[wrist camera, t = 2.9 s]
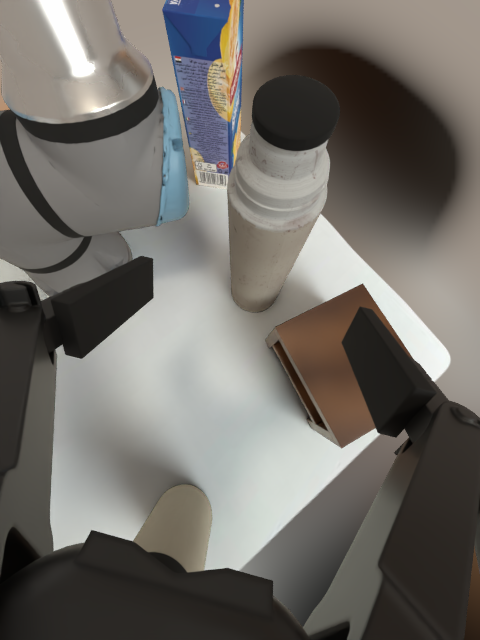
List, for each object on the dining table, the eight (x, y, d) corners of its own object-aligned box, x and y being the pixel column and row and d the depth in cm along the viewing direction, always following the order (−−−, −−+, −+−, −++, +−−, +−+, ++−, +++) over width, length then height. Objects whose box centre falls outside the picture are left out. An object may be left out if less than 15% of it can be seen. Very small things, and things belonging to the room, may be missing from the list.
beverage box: (240, 147, 47) (244, -42, 26) (230, 190, 45) (227, 19, 23) (207, 142, 48) (186, -50, 26) (196, 185, 45) (162, 9, 24)
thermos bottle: (222, 283, 40) (196, 80, 13) (261, 261, 41) (312, 34, 14) (247, 321, 38) (276, 182, 11) (286, 297, 39) (399, 120, 12)
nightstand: (264, 340, 38) (275, 327, 28) (331, 306, 39) (362, 283, 30) (311, 428, 34) (341, 448, 25) (381, 388, 36) (435, 392, 26)
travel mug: (199, 472, 33) (158, 581, 15) (221, 533, 31) (203, 734, 13) (145, 500, 32) (36, 649, 14) (165, 564, 30) (68, 824, 12)
